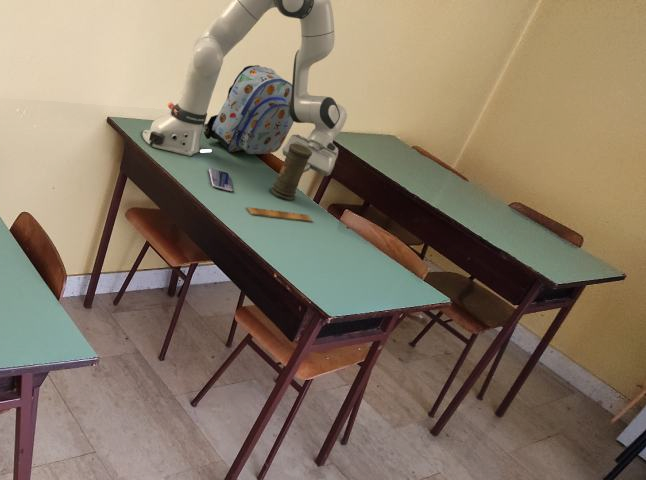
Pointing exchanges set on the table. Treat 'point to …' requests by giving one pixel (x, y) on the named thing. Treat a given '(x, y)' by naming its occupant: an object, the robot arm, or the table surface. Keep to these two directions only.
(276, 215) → the ruler
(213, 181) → the mobile phone
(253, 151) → the backpack
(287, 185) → the container
